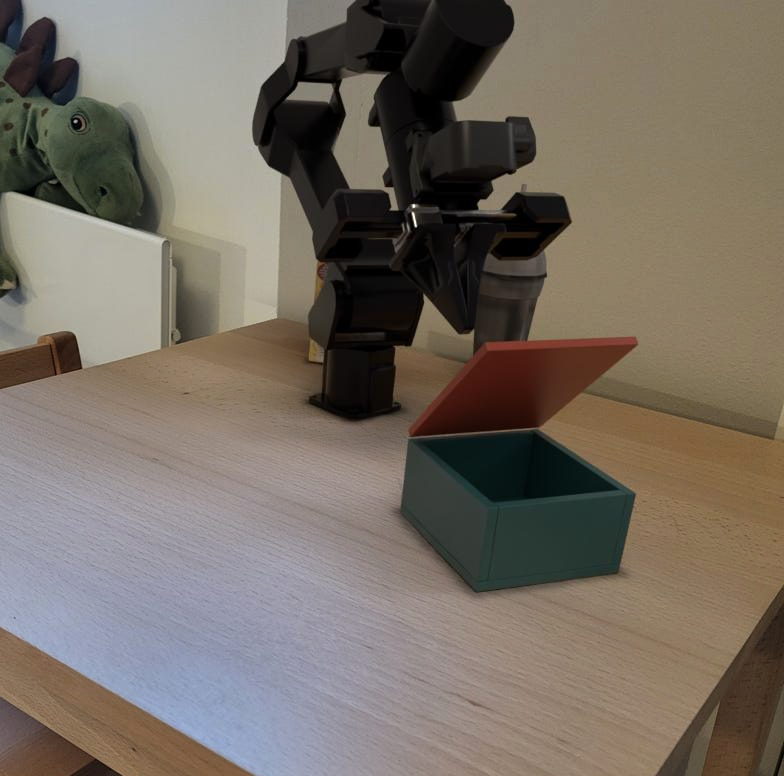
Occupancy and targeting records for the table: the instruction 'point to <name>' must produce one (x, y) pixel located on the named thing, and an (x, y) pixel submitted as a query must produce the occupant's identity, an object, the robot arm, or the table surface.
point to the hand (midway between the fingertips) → (466, 332)
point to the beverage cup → (508, 298)
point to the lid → (519, 384)
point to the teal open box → (515, 508)
